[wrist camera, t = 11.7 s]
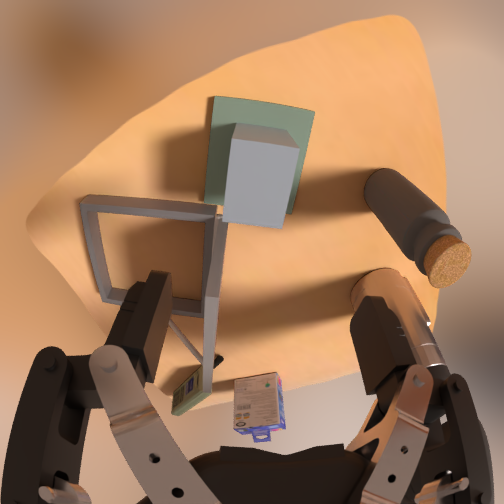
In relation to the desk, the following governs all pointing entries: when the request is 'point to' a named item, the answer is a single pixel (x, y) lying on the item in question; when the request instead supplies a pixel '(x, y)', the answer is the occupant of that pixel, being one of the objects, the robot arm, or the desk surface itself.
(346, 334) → the desk surface
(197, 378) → the handheld radio
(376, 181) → the bottle
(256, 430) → the ink cartridge box
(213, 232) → the case
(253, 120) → the mat
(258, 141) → the block
